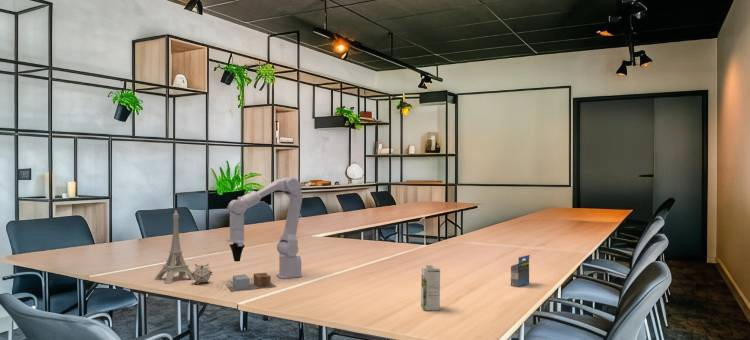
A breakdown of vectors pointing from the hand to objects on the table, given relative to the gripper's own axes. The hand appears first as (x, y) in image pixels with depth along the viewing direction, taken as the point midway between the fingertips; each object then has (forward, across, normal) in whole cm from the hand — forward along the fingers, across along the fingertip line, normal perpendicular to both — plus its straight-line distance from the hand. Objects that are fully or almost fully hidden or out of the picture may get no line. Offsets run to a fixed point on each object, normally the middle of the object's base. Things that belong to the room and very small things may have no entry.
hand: (237, 261), depth 212 cm
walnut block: (+7, +4, +8) cm, 12 cm away
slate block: (+7, +4, 0) cm, 8 cm away
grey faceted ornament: (+10, -7, -13) cm, 18 cm away
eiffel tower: (+10, -20, -22) cm, 31 cm away
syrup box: (+10, +68, +52) cm, 86 cm away
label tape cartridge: (+10, +55, +104) cm, 119 cm away
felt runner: (+9, +9, +4) cm, 14 cm away
